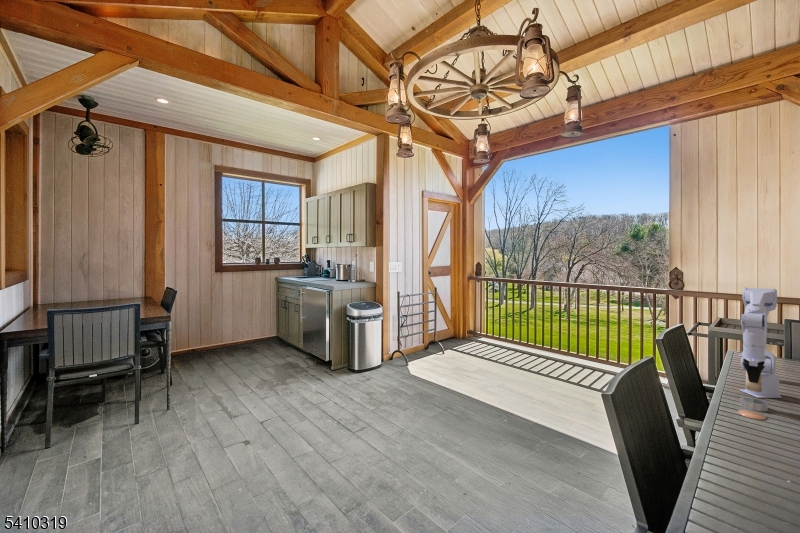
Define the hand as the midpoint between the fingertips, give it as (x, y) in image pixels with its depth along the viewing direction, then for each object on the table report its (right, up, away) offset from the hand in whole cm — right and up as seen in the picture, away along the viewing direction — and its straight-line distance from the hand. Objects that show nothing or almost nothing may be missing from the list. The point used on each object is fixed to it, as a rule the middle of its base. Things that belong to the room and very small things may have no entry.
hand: (753, 380), depth 127 cm
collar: (0, -10, 0) cm, 10 cm away
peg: (0, -3, 0) cm, 3 cm away
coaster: (-7, -10, -6) cm, 14 cm away
